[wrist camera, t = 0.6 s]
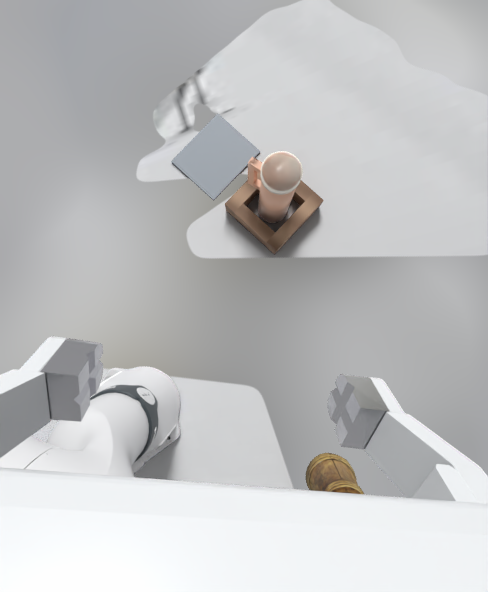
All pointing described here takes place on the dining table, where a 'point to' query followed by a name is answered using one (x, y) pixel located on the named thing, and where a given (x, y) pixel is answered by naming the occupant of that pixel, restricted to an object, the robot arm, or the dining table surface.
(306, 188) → the walnut holder
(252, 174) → the peach tumbler
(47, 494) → the robot arm
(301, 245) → the dining table surface
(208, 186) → the grey mat
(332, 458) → the wooden mug
